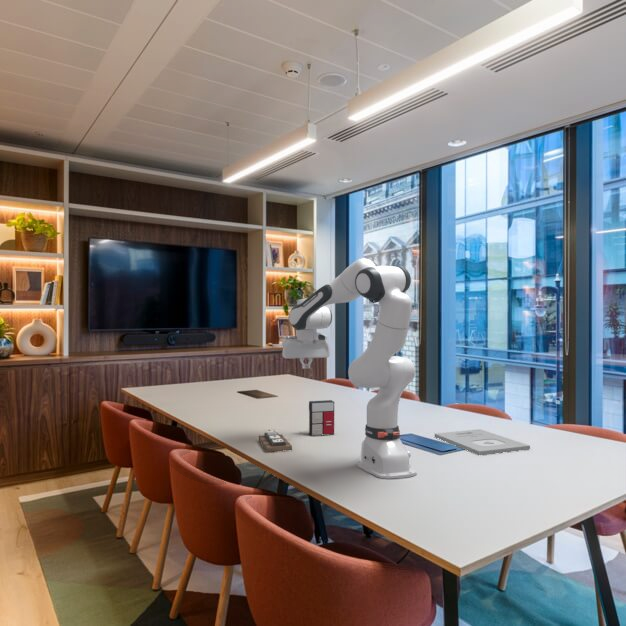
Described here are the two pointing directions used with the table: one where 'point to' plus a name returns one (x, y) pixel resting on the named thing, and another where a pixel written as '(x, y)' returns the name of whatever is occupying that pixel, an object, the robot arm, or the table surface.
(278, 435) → the key one
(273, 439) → the key three
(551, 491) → the table surface
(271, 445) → the key panel
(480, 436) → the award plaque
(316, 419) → the calculator
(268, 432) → the key two
